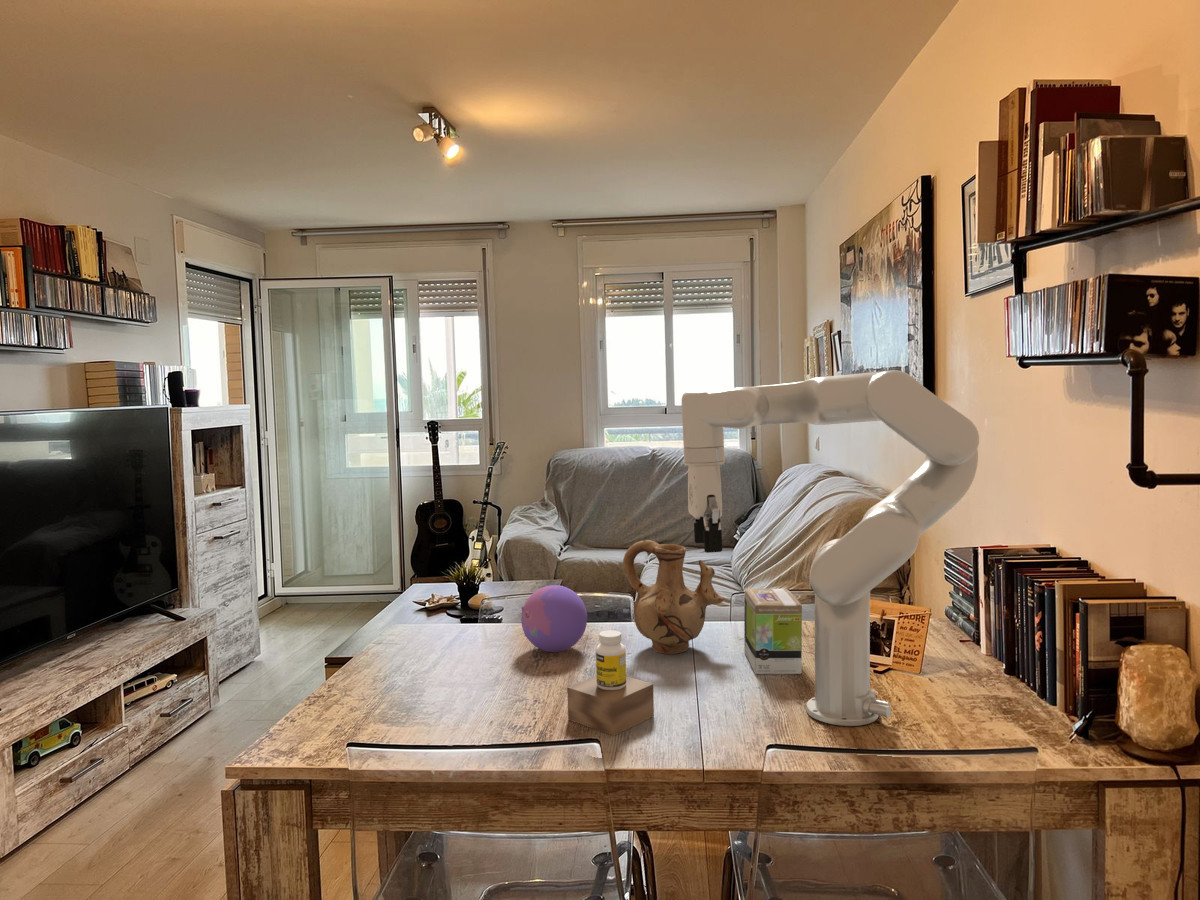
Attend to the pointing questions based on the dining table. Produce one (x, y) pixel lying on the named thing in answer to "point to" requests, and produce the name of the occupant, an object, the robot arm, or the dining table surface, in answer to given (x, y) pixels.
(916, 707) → the dining table surface
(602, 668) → the supplement bottle
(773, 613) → the tea box
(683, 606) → the ceramic vessel
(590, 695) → the walnut block
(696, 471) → the robot arm
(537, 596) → the decorative ball
